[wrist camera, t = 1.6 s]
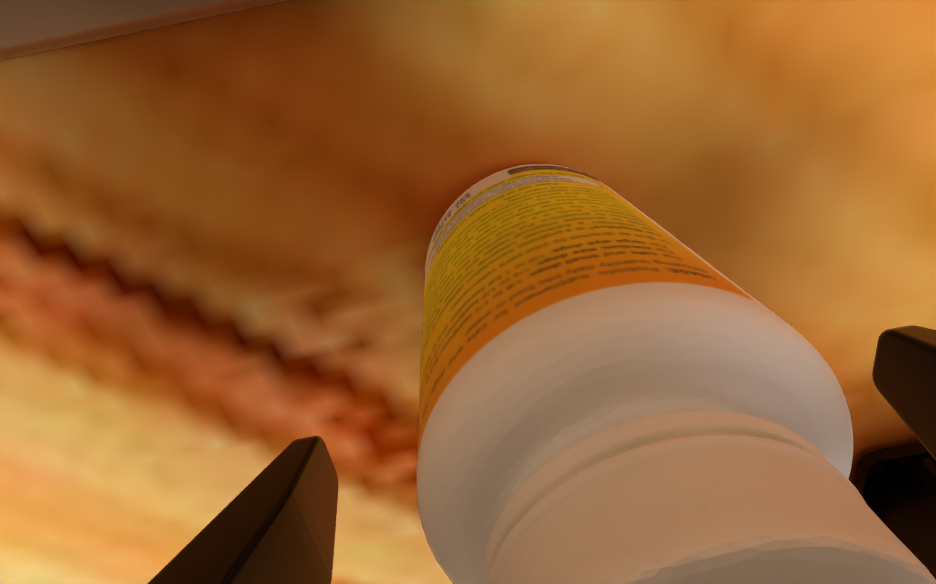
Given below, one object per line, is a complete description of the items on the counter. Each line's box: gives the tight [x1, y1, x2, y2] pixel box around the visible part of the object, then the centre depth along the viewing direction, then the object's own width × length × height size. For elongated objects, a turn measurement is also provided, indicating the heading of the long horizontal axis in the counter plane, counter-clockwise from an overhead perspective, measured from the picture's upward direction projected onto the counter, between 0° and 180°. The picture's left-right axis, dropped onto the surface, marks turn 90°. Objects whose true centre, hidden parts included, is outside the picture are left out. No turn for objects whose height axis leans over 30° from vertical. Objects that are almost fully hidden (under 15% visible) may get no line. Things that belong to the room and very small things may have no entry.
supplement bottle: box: [417, 164, 936, 584], centre depth 9 cm, size 6×6×10 cm
